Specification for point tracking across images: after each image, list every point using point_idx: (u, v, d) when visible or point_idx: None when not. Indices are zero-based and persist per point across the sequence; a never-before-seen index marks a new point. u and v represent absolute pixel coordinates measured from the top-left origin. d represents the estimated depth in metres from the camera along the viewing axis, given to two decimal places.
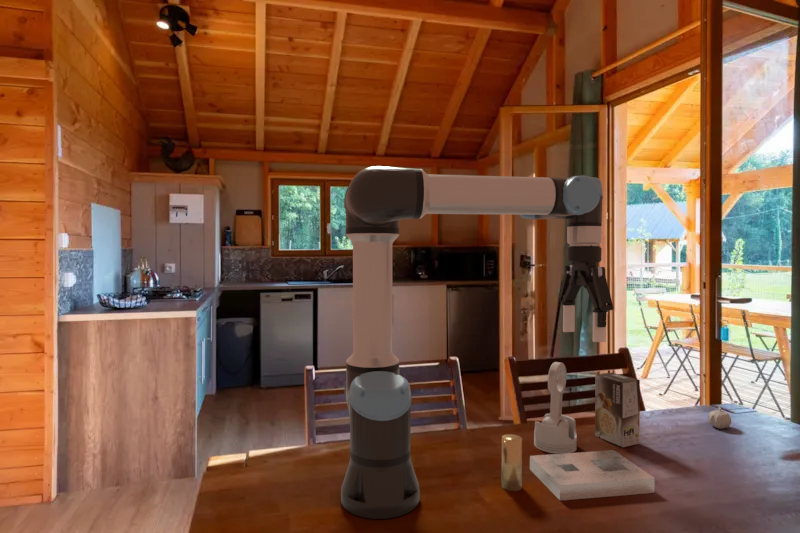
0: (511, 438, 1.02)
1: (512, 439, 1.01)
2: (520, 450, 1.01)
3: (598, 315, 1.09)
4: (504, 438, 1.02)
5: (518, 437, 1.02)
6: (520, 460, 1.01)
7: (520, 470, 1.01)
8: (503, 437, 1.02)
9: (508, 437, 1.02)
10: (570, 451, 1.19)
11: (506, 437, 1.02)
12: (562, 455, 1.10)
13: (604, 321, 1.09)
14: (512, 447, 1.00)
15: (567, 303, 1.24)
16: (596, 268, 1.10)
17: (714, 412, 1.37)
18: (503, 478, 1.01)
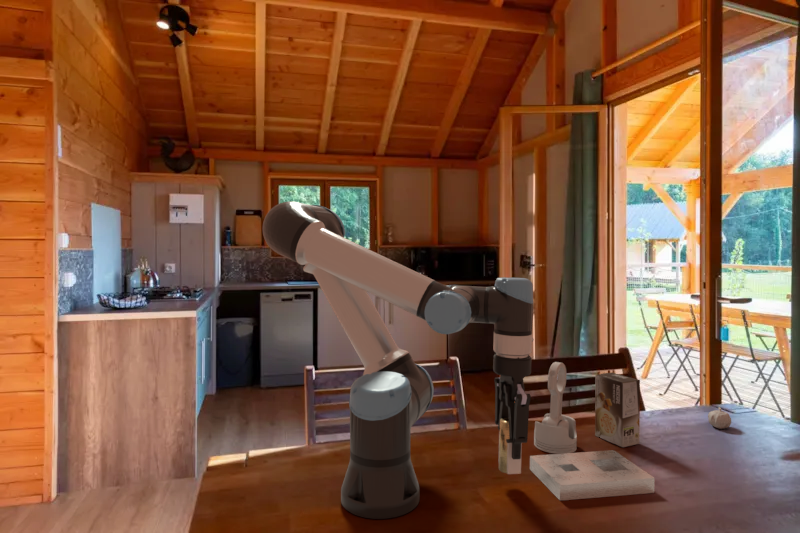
0: None
1: None
2: None
3: (512, 446, 0.99)
4: (502, 421, 1.02)
5: None
6: None
7: None
8: (501, 420, 1.02)
9: (507, 420, 1.02)
10: (570, 451, 1.19)
11: (505, 420, 1.02)
12: (562, 455, 1.10)
13: (518, 453, 0.98)
14: None
15: None
16: (520, 397, 0.95)
17: (714, 412, 1.37)
18: (500, 461, 1.01)
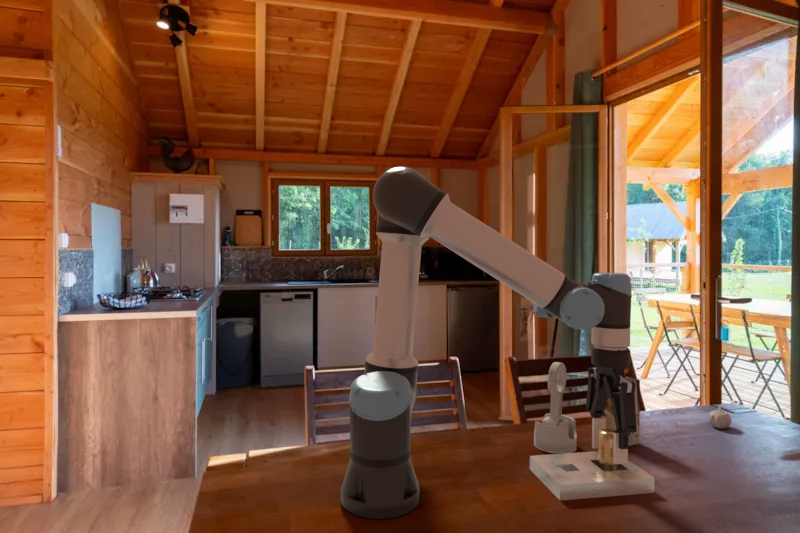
0: (608, 432, 1.05)
1: (610, 433, 1.04)
2: None
3: (620, 436, 1.00)
4: (602, 432, 1.05)
5: None
6: None
7: None
8: (600, 431, 1.05)
9: (605, 431, 1.06)
10: (570, 451, 1.19)
11: (604, 432, 1.05)
12: (562, 455, 1.10)
13: (626, 443, 1.00)
14: (611, 441, 1.03)
15: (597, 415, 1.10)
16: (626, 385, 0.98)
17: (714, 412, 1.37)
18: None
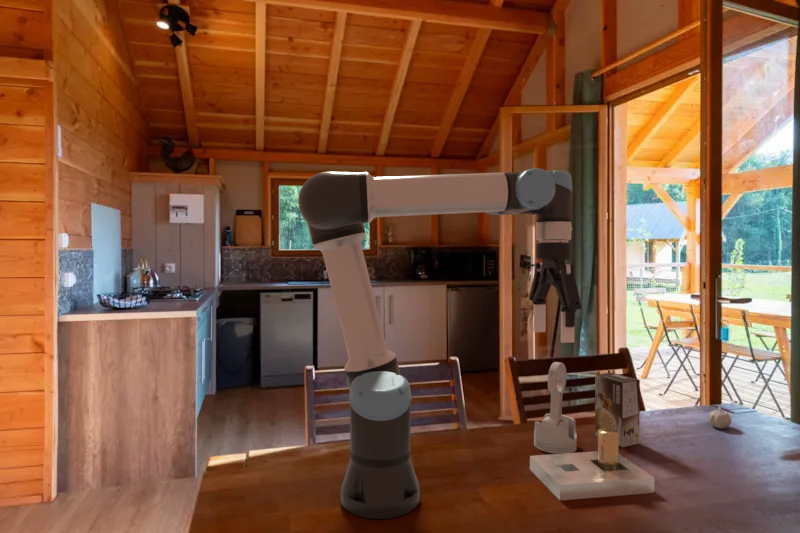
0: (608, 432, 1.05)
1: (609, 433, 1.05)
2: (617, 443, 1.04)
3: (566, 315, 1.04)
4: (601, 432, 1.05)
5: (614, 431, 1.06)
6: (617, 453, 1.04)
7: (617, 463, 1.04)
8: (599, 431, 1.06)
9: (604, 430, 1.06)
10: (570, 451, 1.19)
11: (603, 431, 1.05)
12: (562, 455, 1.10)
13: (572, 321, 1.04)
14: (610, 441, 1.04)
15: (538, 302, 1.19)
16: (564, 265, 1.05)
17: (714, 412, 1.37)
18: None
